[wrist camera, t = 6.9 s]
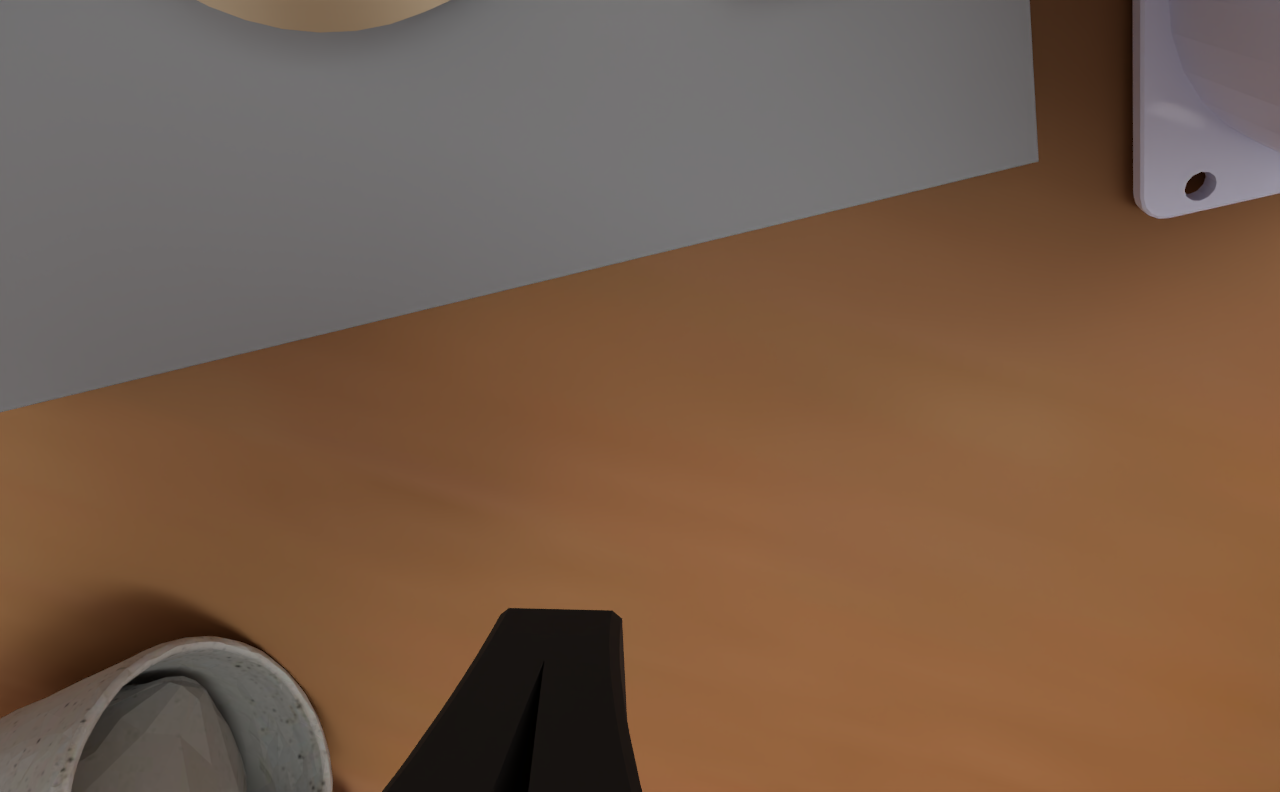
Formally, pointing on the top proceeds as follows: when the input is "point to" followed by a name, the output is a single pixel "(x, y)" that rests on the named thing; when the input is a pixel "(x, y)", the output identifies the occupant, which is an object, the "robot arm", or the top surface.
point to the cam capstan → (324, 12)
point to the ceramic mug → (171, 727)
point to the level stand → (444, 155)
